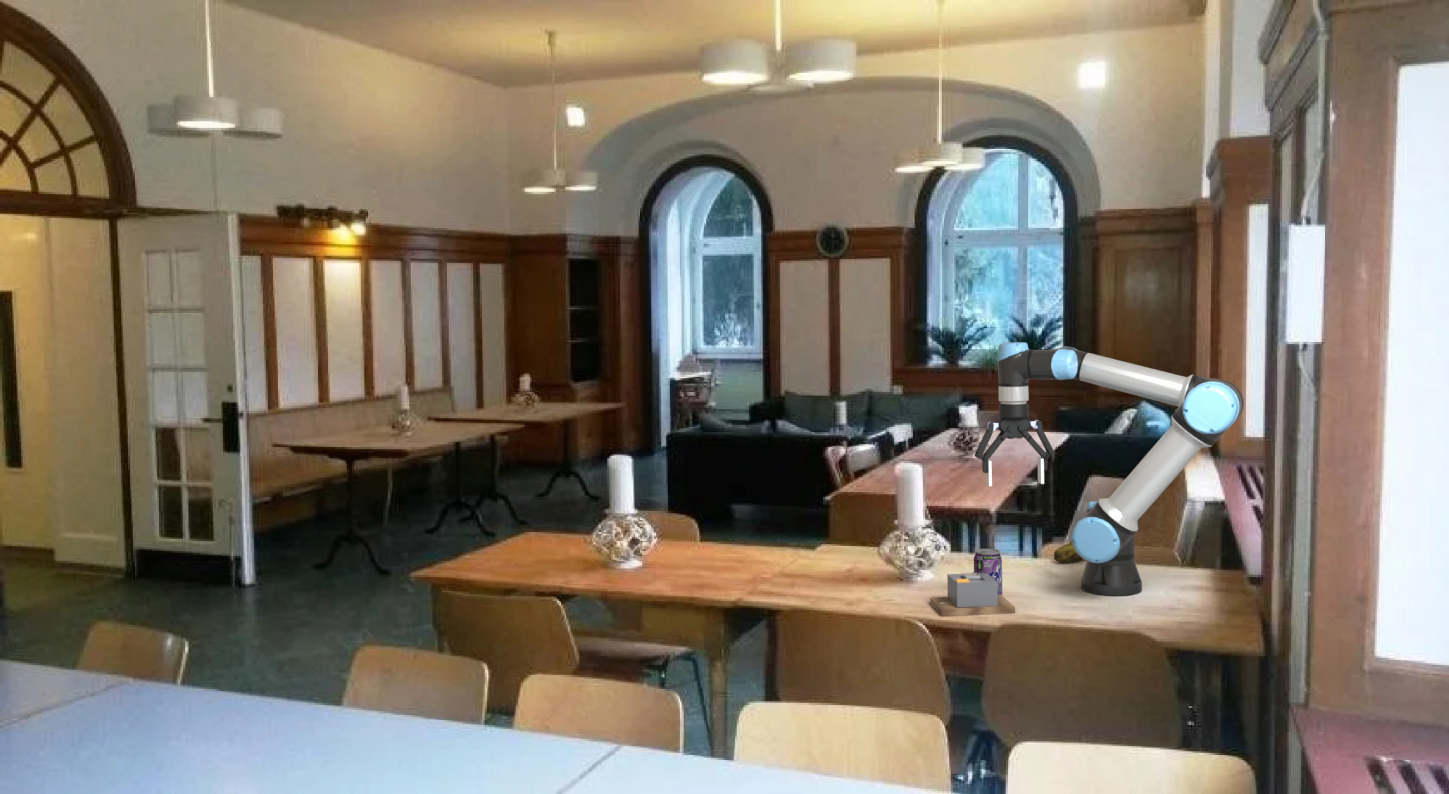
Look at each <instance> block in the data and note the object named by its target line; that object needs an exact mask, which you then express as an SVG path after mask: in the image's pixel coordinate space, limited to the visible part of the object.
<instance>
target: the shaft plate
mask: <svg viewBox="0 0 1449 794" xmlns="http://www.w3.org/2000/svg"><path fill="white" fill-rule="evenodd" d="M929 599H930V605H932V607H933V608H934V609H935V610H936V611H937V613H939V614H940V616H941V617H955V616H957V617H959V616H960V617H961V616H978V615H980V616H981V615H983V616H984V615H1000V614H1002V615H1003V614H1016V605H1014V604H1012V603H1011V602H1010V601H1009V600H1007V598H1005V597H1004V596H1003V594H1002V595H1000V594H998V606H985V607H956V606H955V605H954V603H953V602H952V601H951V600H950V599H949V598H948V596H936V597H935V596H934V597H933V596H932V597H930V598H929Z"/></svg>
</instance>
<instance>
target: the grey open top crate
mask: <svg viewBox="0 0 1449 794" xmlns="http://www.w3.org/2000/svg"><path fill="white" fill-rule="evenodd" d="M978 574H979V575H980V580H972V581H969V579H963V578H962V573H948V574H946V575H947V597H948V598H949V599H950V600H951V601H952V602H953V603H954V605H955V606H956V607H985V606H998V582H997V581H996V580H994V579H993V578H992V577H991V576H989V575H988V574H987V573H978Z"/></svg>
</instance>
